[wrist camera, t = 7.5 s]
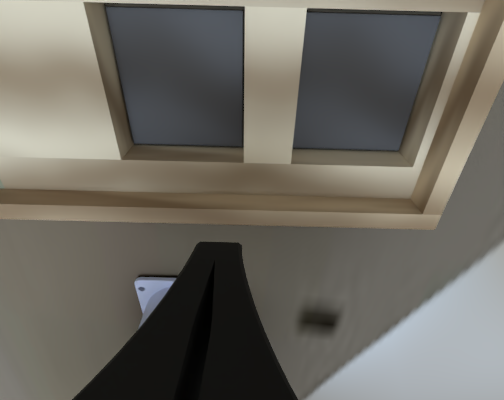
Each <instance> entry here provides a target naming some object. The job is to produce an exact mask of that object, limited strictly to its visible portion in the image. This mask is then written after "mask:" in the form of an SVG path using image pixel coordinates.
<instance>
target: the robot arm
mask: <svg viewBox="0 0 504 400" xmlns="http://www.w3.org/2000/svg"><path fill="white" fill-rule="evenodd" d="M134 284H135V288H136V291H137V295H138V298H139V302H140V305H141V309H142V312H143V316H142V319H141V322H140V325H139V328H138V330H137V331H136V333H135V334H134V335H133V336H132V337H131V339H130V340H129V341H128V342H127V343H126V344H125V345H124V346H123V348H122V349H121V350H120V351H119V352H118V353H117V354H116V355H115V356H114V358H113V359H112V360H111V361H110V362H109V363H108V364H107V365H106V366H105V367H104V368H103V369H102V370H101V371H100V372H99V373H98V374H97V375H96V376H95V377H94V378H93V379H92V381H91V382H90V383H89V384H88V385H87V386H86V387H85V388H84V389H83V390H81V391H80V392H79V393H78V394H77V395H76V396H75V397H74V398H73V399H72V400H298V399H297V397H296V395H295V393H294V392H293V390H292V388H291V386H290V384H289V382H288V380H287V378H286V376H285V374H284V372H283V370H282V368H281V366H280V364H279V362H278V360H277V358H276V356H275V353H274V351H273V349H272V347H271V345H270V342H269V340H268V338H267V335H266V333H265V331H264V328H263V326H262V323H261V320H260V318H259V315H258V313H257V310H256V307H255V304H254V301H253V298H252V295H251V292H250V289H249V285H248V282H247V278H246V274H245V269H244V265H243V259H242V245H240V244H239V243H229V242H199V243H198V244H197V245H196V247H195V249H194V251H193V252H192V254H191V256H190V258H189V259H188V261H187V263H186V264H185V266H184V268H183V269H182V271H181V272H180V274H179V275H178V277H177V278H164V277H138V278H136V280H135V282H134Z"/></svg>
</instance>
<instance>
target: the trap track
mask: <svg viewBox="0 0 504 400" xmlns="http://www.w3.org/2000/svg"><path fill="white" fill-rule="evenodd" d="M104 3H139V4H176V5H213V6H245V62H244V147H207V146H168V145H134V144H171V145H210V146H242V107H243V10H207V9H170V8H133V7H106V9H105V4H104ZM307 8H324V9H361V10H398V11H434V12H442V14H441V16H428V15H391V14H354V13H317V12H307ZM106 11H107V14H106ZM107 16H108V18H107ZM108 21H109V23H108ZM109 26H110V28H109ZM110 30H111V33H110ZM111 35H112V38H111ZM112 40H113V42H112ZM113 45H114V47H113ZM114 50H115V52H114ZM115 54H116V57H115ZM116 59H117V62H116ZM117 64H118V66H117ZM118 69H119V71H118ZM119 74H120V76H119ZM120 79H121V81H120ZM503 80H504V0H0V219H23V220H63V221H104V222H144V223H184V224H224V225H264V226H305V227H345V228H385V229H425V230H435V228H436V226H437V224H438V221H439V219H440V217H441V215H442V213H443V211H444V208H445V206H446V204H447V202H448V200H449V198H450V195H451V193H452V191H453V189H454V187H455V185H456V182H457V180H458V178H459V176H460V174H461V172H462V169H463V167H464V165H465V163H466V161H467V159H468V156H469V154H470V152H471V150H472V148H473V146H474V143H475V141H476V139H477V137H478V135H479V133H480V130H481V128H482V126H483V124H484V122H485V120H486V117H487V115H488V113H489V111H490V109H491V107H492V104H493V102H494V100H495V98H496V96H497V93H498V91H499V89H500V87H501V85H502V83H503ZM121 83H122V86H121ZM122 88H123V90H122ZM123 93H124V95H123ZM124 98H125V100H124ZM125 103H126V105H125ZM126 107H127V110H126ZM127 112H128V114H127ZM128 117H129V119H128ZM129 122H130V124H129ZM130 127H131V129H130ZM131 132H132V134H131ZM132 136H133V138H132ZM133 141H134V143H133ZM292 148H327V149H366V150H398V151H363V150H324V149H292Z"/></svg>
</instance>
